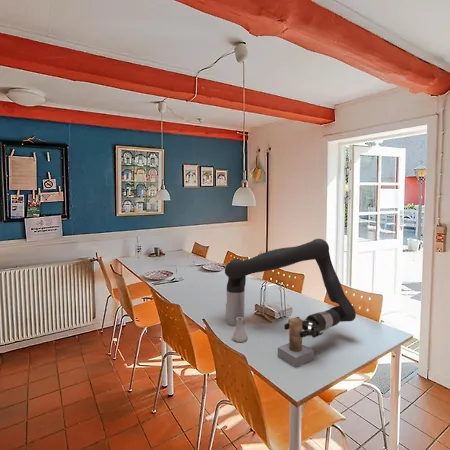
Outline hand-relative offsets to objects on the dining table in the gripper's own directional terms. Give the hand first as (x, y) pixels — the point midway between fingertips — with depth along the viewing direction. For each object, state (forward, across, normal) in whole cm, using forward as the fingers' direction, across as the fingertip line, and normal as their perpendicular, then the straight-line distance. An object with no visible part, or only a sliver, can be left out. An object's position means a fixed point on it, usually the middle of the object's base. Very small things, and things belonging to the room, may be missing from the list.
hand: (292, 330), depth 125 cm
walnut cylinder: (-2, 0, +8) cm, 8 cm away
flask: (+7, -26, +12) cm, 30 cm away
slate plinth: (-2, 0, +12) cm, 12 cm away
